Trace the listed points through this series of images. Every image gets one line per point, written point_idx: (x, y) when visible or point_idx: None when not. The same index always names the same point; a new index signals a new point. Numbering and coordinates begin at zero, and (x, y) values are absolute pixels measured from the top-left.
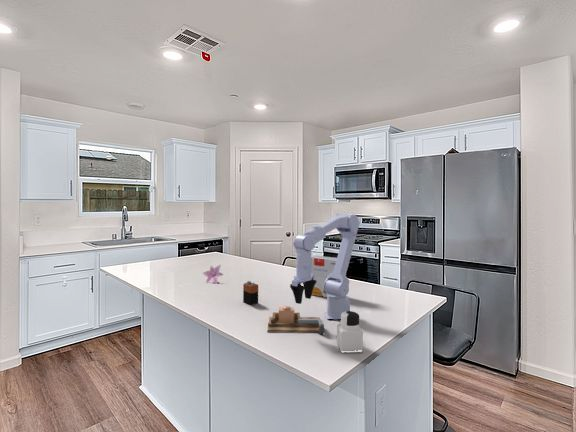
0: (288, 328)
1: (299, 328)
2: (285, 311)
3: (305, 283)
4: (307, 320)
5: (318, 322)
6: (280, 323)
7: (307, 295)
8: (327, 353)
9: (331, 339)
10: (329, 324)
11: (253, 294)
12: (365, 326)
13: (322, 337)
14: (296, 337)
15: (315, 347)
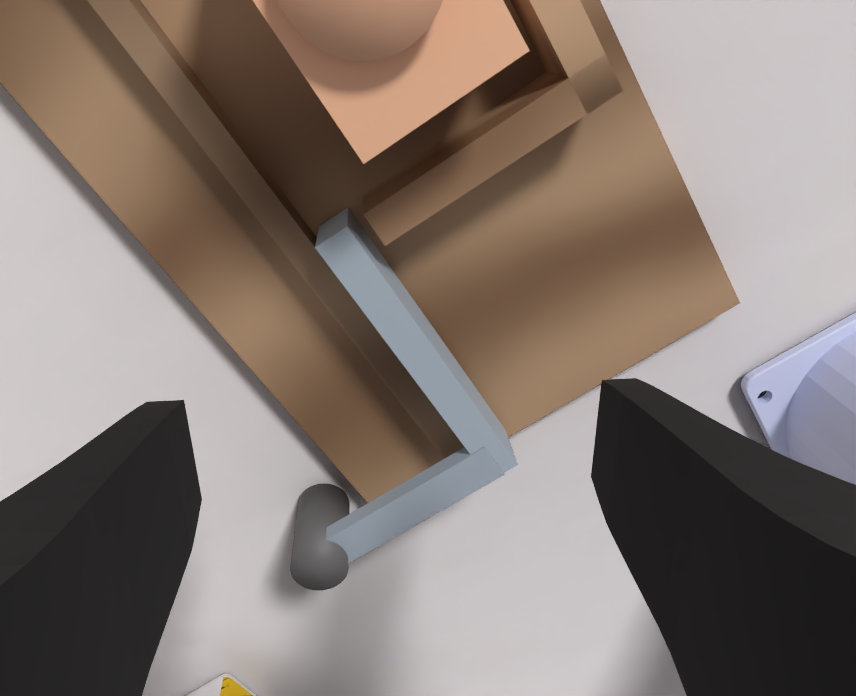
0: (150, 174)
1: (249, 291)
2: (263, 11)
3: (806, 647)
4: (392, 350)
5: (430, 467)
6: (126, 17)
7: (618, 463)
8: None
9: (278, 607)
10: None
11: None
12: None
13: (262, 538)
14: (68, 353)
15: None
